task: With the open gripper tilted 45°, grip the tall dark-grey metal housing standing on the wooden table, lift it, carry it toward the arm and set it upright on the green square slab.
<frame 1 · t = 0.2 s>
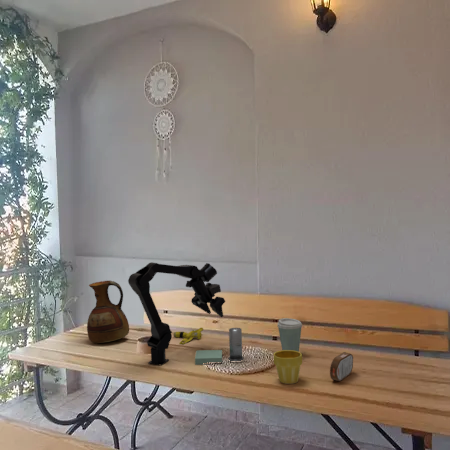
hand: (216, 314, 204), 15 cm above the table, tool tilted 35°, fingers open, 9 cm apart
green square slab: (209, 359, 186), on the table
plant pot: (288, 381, 161), on the table
housing: (236, 360, 185), on the table
ceramic pitcher: (108, 341, 221), on the table
sprinkler: (186, 339, 220), on the table
disposable coffee cup: (290, 355, 190), on the table
tin: (342, 378, 162), on the table
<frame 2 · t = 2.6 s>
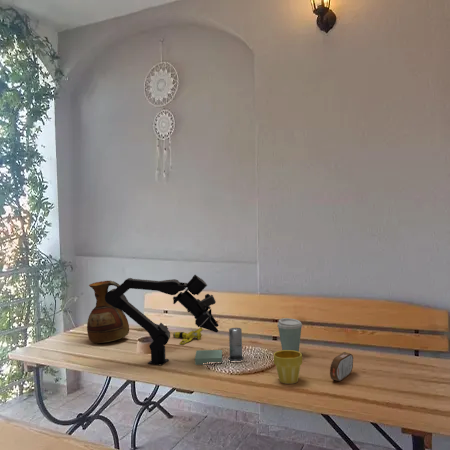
hand: (217, 328, 185), 13 cm above the table, tool tilted 45°, fingers open, 9 cm apart
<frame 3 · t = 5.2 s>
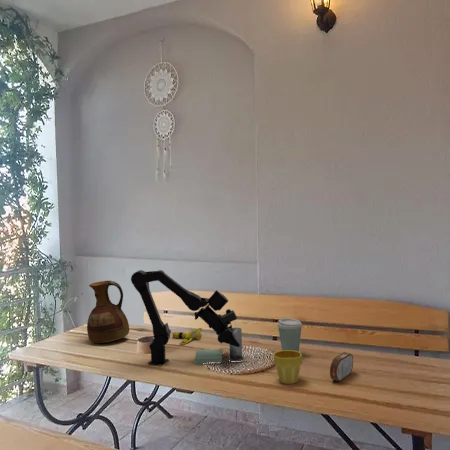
hand: (239, 344, 185), 7 cm above the table, tool tilted 45°, fingers closed on housing, 5 cm apart
housing: (236, 360, 185), on the table, touching gripper
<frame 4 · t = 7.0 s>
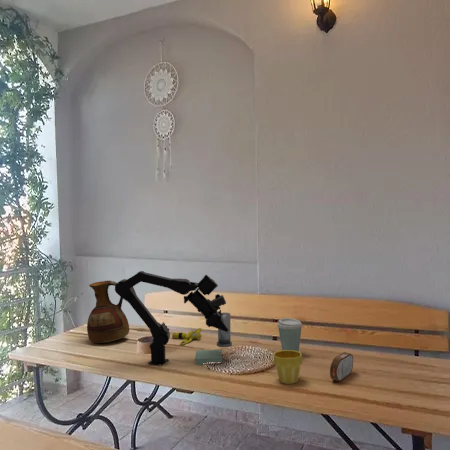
hand: (227, 329, 185), 13 cm above the table, tool tilted 45°, fingers closed on housing, 5 cm apart
housing: (224, 345, 186), point 6 cm above the table, touching gripper
when the fingers open (10 cm above the table, at t = 8.7 s): housing drops 1 cm, resting on green square slab.
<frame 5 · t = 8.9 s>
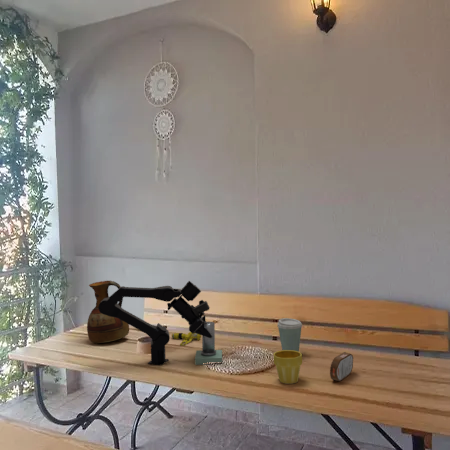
hand: (211, 334, 186), 11 cm above the table, tool tilted 45°, fingers open, 7 cm apart
housing: (208, 353, 186), point 3 cm above the table, touching green square slab
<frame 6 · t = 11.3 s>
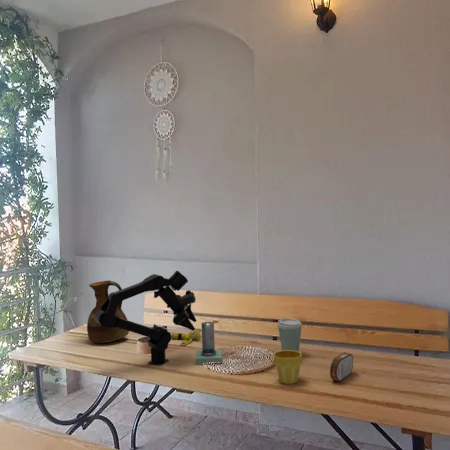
hand: (195, 325, 189), 14 cm above the table, tool tilted 40°, fingers open, 9 cm apart
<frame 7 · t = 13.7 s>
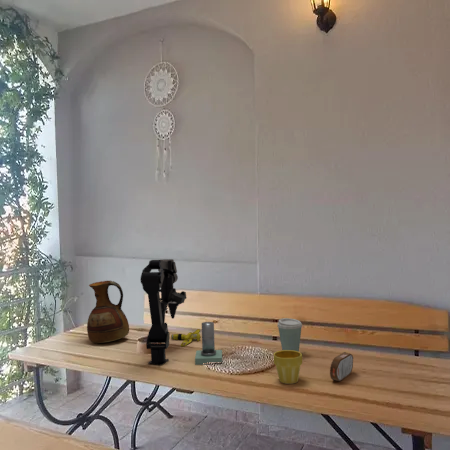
hand: (168, 320, 203), 13 cm above the table, tool pointing down, fingers open, 9 cm apart
at the end: housing inside the target area on the green square slab (0.1 cm from its centre), point 2.5 cm above the green square slab's base; housing tilted 0°; the gripper is holding nothing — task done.
